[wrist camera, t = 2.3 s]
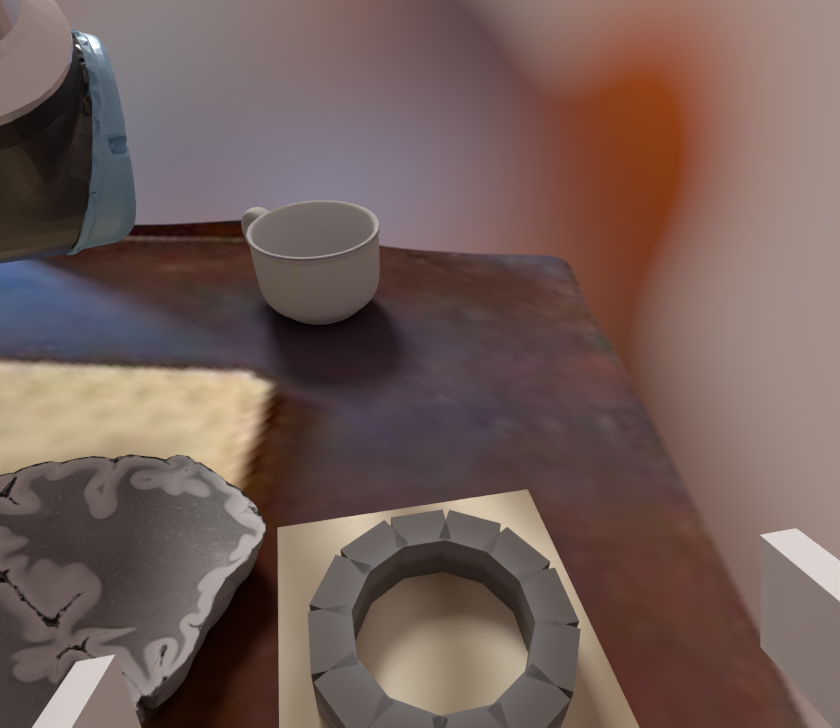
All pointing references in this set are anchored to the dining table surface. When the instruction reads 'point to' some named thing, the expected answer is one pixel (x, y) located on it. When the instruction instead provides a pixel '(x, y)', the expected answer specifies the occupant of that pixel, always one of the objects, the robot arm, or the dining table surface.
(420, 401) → the dining table surface
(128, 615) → the brain slice
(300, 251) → the teacup
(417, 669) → the ring board
